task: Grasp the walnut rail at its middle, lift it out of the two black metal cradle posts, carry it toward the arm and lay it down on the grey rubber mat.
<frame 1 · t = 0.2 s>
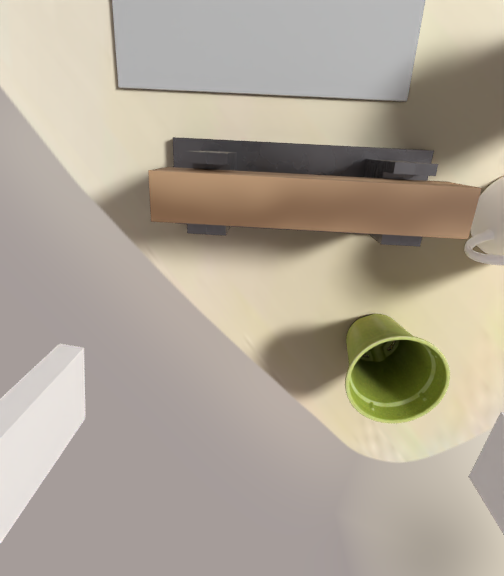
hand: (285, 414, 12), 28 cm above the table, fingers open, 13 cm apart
stand: (297, 187, 36), on the table
mug: (495, 218, 36), on the table
rail: (303, 196, 29), point 7 cm above the table, touching stand
plant pot: (371, 336, 42), on the table
mat: (264, 29, 31), on the table
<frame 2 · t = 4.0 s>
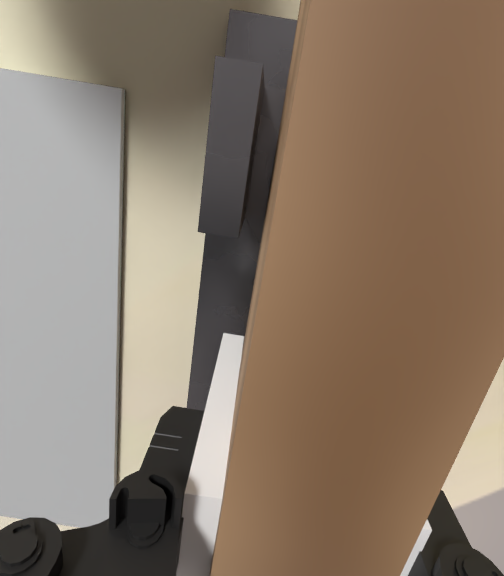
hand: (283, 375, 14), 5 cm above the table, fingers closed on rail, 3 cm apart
stand: (279, 318, 18), on the table
rail: (286, 414, 12), point 7 cm above the table, touching gripper, stand
mat: (26, 346, 19), on the table
when the fingers open (1 cm above the table, at t = 9.5 s): rail drops 3 cm, resting on mat.
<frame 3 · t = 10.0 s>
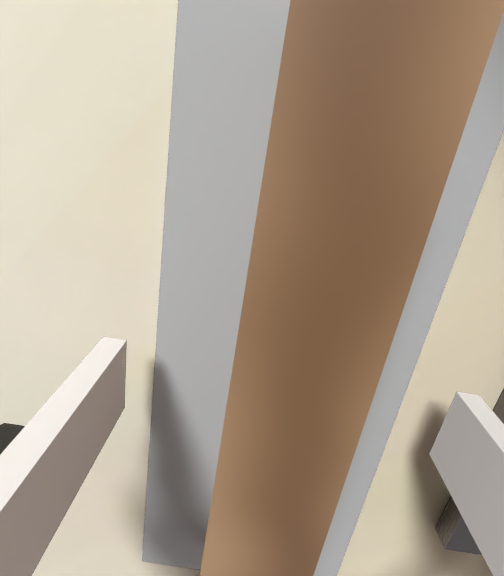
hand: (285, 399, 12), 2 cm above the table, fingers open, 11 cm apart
rail: (277, 364, 14), resting on mat
mat: (282, 359, 15), on the table
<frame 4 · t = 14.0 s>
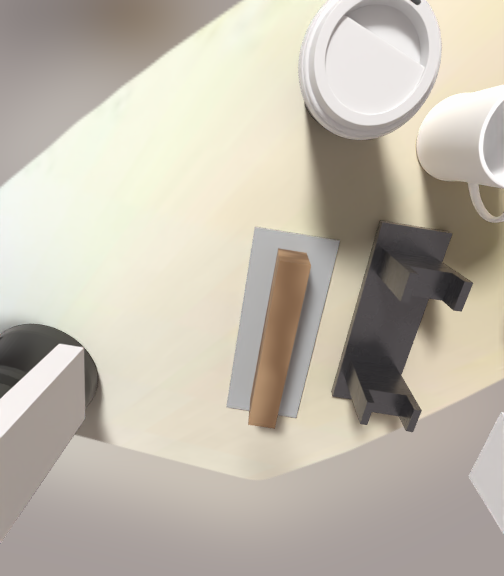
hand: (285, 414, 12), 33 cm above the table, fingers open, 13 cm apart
coffee cup: (335, 92, 37), on the table
stand: (384, 319, 46), on the table
mug: (455, 155, 39), on the table
rail: (275, 332, 47), resting on mat
mat: (277, 330, 47), on the table
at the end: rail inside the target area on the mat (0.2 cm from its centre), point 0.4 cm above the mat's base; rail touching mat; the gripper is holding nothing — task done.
